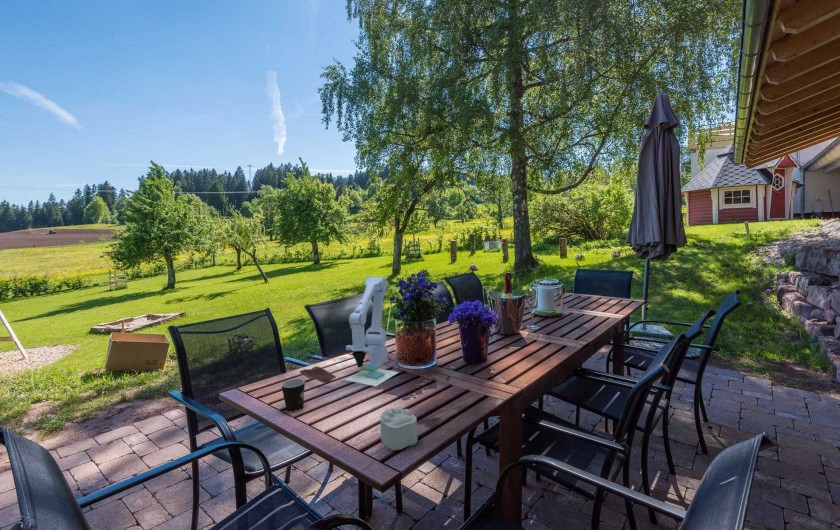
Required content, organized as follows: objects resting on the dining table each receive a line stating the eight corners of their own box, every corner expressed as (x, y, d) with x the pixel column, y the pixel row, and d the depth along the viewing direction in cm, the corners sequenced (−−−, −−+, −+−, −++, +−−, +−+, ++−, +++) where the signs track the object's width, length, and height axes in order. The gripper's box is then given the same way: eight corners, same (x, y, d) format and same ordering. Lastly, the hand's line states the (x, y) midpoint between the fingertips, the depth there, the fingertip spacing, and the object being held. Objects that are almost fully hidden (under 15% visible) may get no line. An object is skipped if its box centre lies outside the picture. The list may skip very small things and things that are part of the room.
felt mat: (368, 367, 191) (368, 366, 191) (398, 373, 182) (398, 372, 182) (344, 380, 176) (344, 379, 176) (375, 387, 167) (375, 386, 167)
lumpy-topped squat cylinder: (392, 452, 117) (391, 425, 116) (374, 434, 128) (373, 409, 127) (421, 441, 122) (420, 415, 121) (402, 425, 133) (401, 400, 133)
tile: (372, 370, 181) (384, 372, 178) (372, 374, 181) (384, 376, 178) (364, 375, 176) (376, 377, 173) (364, 378, 176) (377, 380, 173)
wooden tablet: (344, 378, 176) (324, 382, 170) (344, 383, 176) (324, 387, 170) (317, 365, 196) (298, 368, 189) (317, 369, 196) (298, 372, 189)
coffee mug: (293, 415, 144) (291, 389, 143) (278, 410, 149) (276, 385, 148) (317, 402, 154) (315, 378, 153) (302, 398, 159) (300, 374, 158)
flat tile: (369, 367, 191) (369, 363, 191) (380, 369, 188) (380, 365, 187) (361, 371, 186) (361, 367, 186) (373, 373, 182) (373, 369, 182)
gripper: (340, 338, 180) (342, 367, 181) (365, 342, 173) (367, 371, 174) (350, 334, 186) (352, 362, 187) (375, 337, 179) (376, 366, 180)
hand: (360, 366), depth 181 cm, fingers closed
